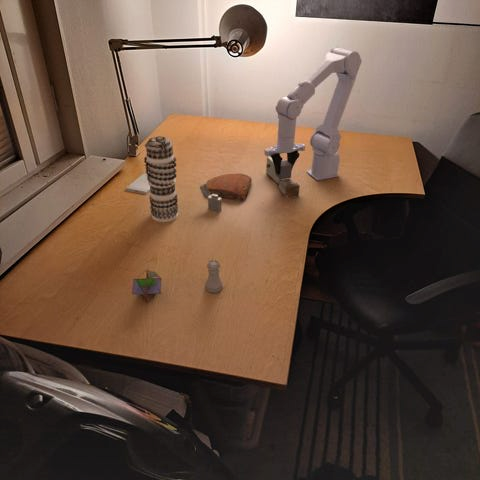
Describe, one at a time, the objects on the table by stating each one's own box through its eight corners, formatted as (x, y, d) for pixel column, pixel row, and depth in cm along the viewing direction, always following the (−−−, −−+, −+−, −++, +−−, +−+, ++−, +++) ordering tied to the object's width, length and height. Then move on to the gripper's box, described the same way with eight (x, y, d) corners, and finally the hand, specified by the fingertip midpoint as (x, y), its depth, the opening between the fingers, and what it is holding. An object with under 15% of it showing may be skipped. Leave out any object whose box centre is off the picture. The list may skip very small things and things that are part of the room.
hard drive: (143, 173, 164) (125, 187, 154) (163, 176, 162) (146, 191, 152) (143, 177, 165) (125, 191, 155) (163, 180, 163) (147, 195, 153)
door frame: (271, 170, 171) (272, 155, 167) (299, 195, 154) (301, 179, 151) (260, 171, 169) (261, 157, 166) (288, 197, 153) (289, 182, 149)
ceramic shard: (213, 165, 162) (253, 175, 160) (210, 181, 165) (250, 191, 163) (203, 177, 149) (246, 188, 147) (200, 195, 152) (243, 206, 150)
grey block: (285, 173, 160) (286, 160, 157) (290, 177, 157) (292, 164, 154) (275, 175, 158) (276, 161, 156) (280, 179, 155) (281, 166, 152)
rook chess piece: (204, 282, 114) (204, 257, 110) (222, 282, 115) (222, 256, 110) (205, 294, 111) (204, 268, 106) (223, 293, 111) (223, 267, 106)
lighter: (221, 209, 145) (221, 187, 141) (219, 212, 144) (219, 189, 139) (202, 204, 148) (202, 182, 143) (200, 206, 146) (199, 184, 142)
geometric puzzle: (160, 303, 104) (159, 269, 105) (130, 304, 104) (129, 270, 104) (162, 301, 111) (162, 268, 112) (134, 302, 111) (134, 269, 111)
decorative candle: (171, 225, 137) (165, 147, 123) (144, 219, 139) (136, 142, 125) (184, 211, 144) (180, 136, 130) (159, 205, 146) (152, 131, 132)
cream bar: (269, 171, 169) (269, 156, 165) (281, 183, 161) (282, 167, 158) (264, 172, 168) (265, 157, 165) (276, 184, 161) (277, 168, 157)
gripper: (299, 128, 155) (295, 164, 162) (261, 133, 150) (259, 170, 157) (309, 135, 149) (305, 172, 157) (270, 140, 144) (268, 179, 152)
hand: (283, 172), depth 157 cm, fingers closed on grey block, 4 cm apart
